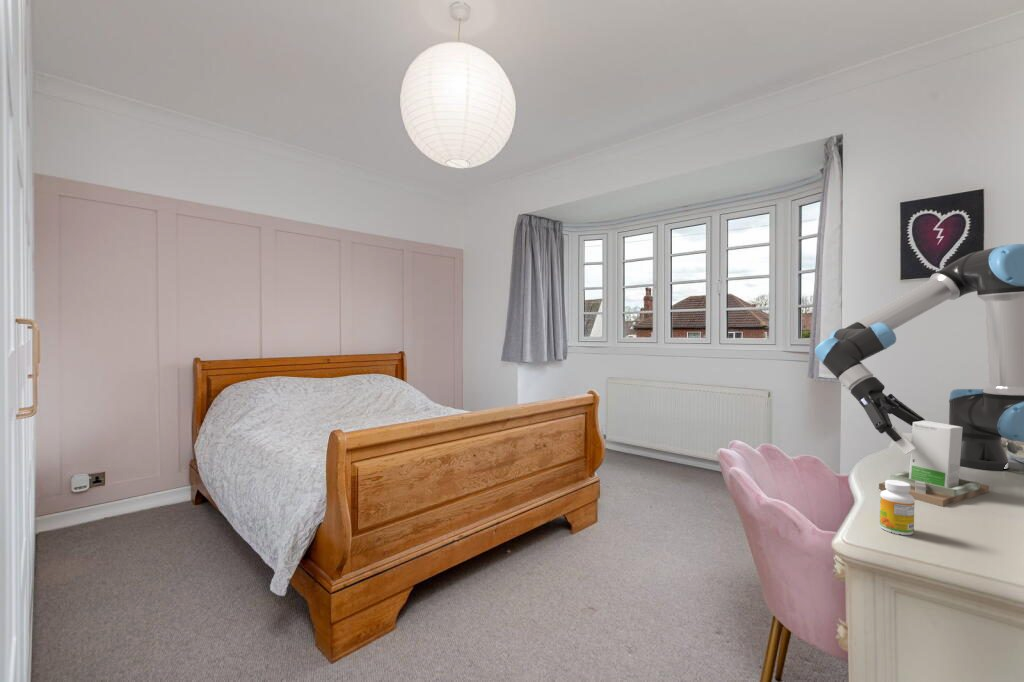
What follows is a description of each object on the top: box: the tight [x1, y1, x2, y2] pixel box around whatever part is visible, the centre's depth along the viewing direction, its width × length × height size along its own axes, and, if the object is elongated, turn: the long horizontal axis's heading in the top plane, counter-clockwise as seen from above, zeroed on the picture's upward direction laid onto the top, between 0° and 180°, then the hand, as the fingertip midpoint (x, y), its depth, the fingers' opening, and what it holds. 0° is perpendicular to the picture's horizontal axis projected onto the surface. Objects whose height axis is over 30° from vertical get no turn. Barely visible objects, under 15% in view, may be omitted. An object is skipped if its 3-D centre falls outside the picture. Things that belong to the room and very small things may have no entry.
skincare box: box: [908, 420, 963, 488], centre depth 121 cm, size 8×7×16 cm
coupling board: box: [878, 470, 990, 507], centre depth 121 cm, size 24×13×3 cm, turn 116°
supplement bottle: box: [879, 479, 916, 536], centre depth 96 cm, size 5×5×10 cm
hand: (924, 448), depth 123 cm, fingers open, 13 cm apart
